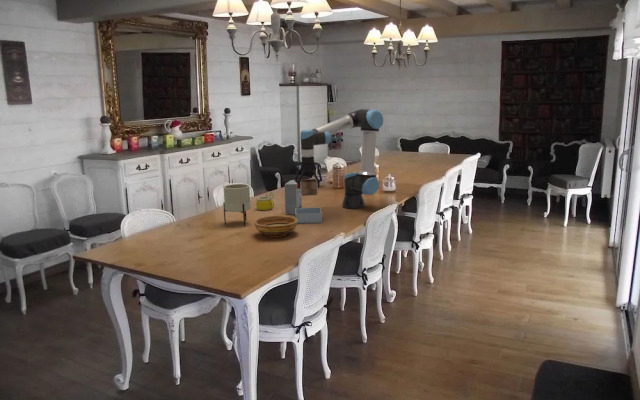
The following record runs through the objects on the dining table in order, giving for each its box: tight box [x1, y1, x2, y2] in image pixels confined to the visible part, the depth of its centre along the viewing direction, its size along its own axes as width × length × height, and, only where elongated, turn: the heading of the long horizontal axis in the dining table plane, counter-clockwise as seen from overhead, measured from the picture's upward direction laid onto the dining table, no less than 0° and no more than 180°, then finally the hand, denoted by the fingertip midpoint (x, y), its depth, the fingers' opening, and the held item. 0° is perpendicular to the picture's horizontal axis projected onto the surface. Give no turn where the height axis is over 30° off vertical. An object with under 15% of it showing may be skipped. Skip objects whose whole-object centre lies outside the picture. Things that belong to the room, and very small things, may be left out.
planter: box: [223, 183, 251, 227], centre depth 321 cm, size 15×16×23 cm
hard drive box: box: [284, 179, 303, 216], centre depth 347 cm, size 16×8×20 cm, turn 168°
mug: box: [255, 191, 275, 211], centre depth 358 cm, size 13×11×12 cm
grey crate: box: [294, 207, 323, 225], centre depth 327 cm, size 16×16×6 cm
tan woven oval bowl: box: [253, 215, 298, 238], centre depth 297 cm, size 30×24×8 cm
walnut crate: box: [301, 178, 318, 196], centre depth 321 cm, size 9×9×8 cm
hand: (309, 193), depth 322 cm, fingers closed on walnut crate, 9 cm apart
